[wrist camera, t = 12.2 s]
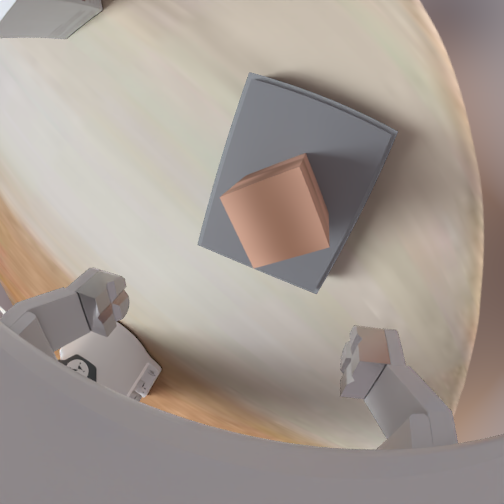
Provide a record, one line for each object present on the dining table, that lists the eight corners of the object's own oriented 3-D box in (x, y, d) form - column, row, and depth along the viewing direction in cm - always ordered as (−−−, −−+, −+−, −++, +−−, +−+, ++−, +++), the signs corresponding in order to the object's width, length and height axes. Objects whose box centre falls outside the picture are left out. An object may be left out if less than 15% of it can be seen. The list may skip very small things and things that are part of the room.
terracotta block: (270, 231, 23) (253, 268, 18) (245, 175, 22) (219, 197, 16) (328, 213, 21) (329, 247, 16) (305, 152, 20) (299, 166, 15)
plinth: (318, 275, 29) (316, 298, 25) (210, 230, 29) (194, 247, 26) (388, 129, 20) (400, 132, 17) (258, 77, 21) (247, 71, 18)
